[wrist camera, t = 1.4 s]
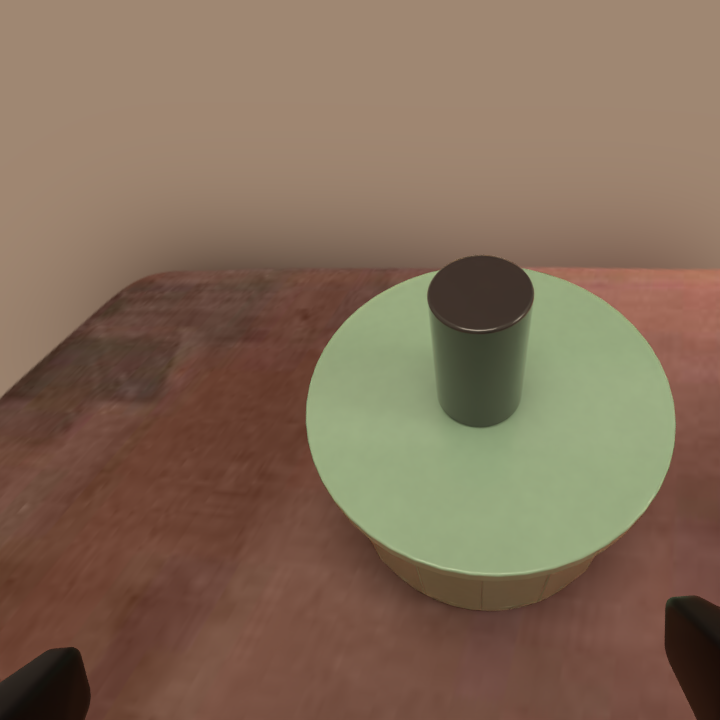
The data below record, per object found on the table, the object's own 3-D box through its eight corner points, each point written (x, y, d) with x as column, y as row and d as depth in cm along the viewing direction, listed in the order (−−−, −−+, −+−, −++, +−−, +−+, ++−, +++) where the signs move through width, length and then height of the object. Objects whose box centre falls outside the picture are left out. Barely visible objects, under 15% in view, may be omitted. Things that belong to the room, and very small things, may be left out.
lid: (725, 368, 19) (812, 229, 14) (550, 683, 15) (588, 641, 10) (436, 248, 25) (426, 119, 20) (247, 448, 20) (174, 346, 15)
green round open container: (654, 451, 24) (705, 362, 19) (525, 676, 20) (542, 643, 15) (445, 344, 29) (438, 251, 24) (308, 506, 25) (264, 437, 20)
